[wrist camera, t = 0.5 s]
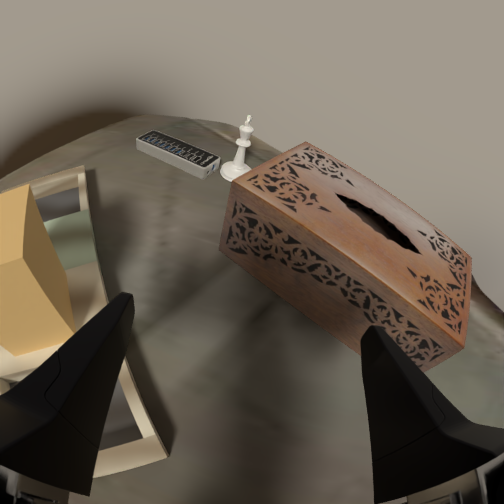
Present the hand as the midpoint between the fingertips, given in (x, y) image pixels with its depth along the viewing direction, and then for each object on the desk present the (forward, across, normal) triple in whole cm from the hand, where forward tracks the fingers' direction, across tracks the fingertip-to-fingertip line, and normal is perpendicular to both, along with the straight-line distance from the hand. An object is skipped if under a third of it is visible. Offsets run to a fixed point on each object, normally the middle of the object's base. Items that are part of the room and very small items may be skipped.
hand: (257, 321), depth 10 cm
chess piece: (+35, +1, +8) cm, 36 cm away
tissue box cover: (+18, -13, +12) cm, 26 cm away
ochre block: (+6, +17, +12) cm, 22 cm away
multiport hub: (+37, +11, +8) cm, 40 cm away
